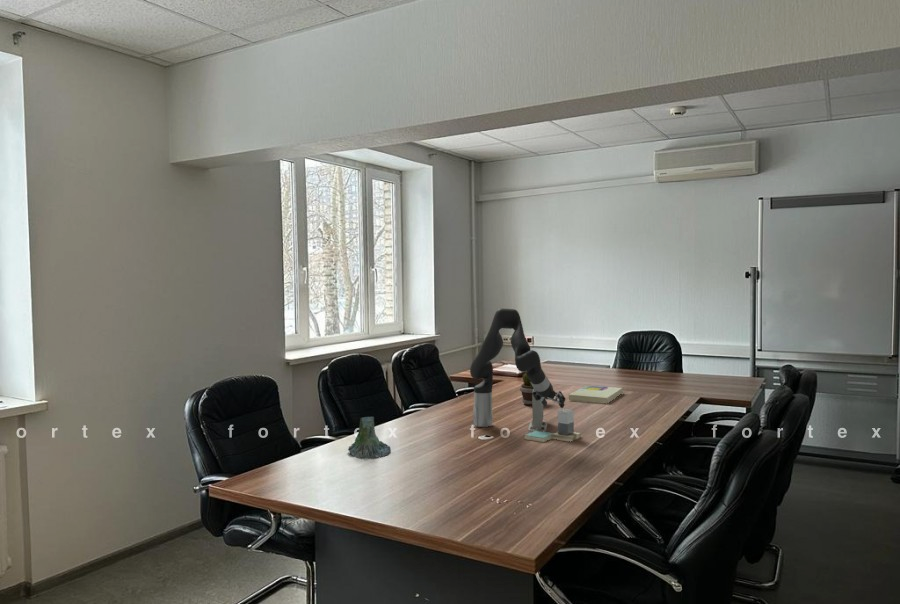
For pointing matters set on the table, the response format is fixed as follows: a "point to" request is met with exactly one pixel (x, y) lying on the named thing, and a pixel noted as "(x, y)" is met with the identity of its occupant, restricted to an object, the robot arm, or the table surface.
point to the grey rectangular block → (565, 422)
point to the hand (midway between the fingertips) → (554, 405)
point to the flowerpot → (526, 390)
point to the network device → (537, 416)
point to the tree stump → (368, 441)
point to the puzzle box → (595, 394)
